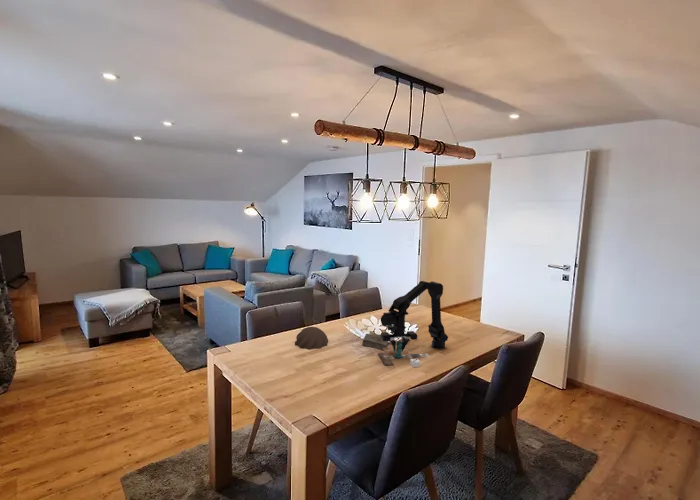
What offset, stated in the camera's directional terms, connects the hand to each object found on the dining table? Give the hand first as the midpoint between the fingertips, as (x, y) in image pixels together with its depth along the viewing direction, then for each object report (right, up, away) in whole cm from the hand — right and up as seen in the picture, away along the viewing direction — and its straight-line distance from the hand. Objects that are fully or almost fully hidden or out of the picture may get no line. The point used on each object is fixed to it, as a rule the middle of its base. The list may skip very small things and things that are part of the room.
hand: (398, 351), depth 200 cm
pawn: (0, -3, 0) cm, 3 cm away
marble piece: (-11, -2, +21) cm, 24 cm away
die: (+7, -6, -9) cm, 13 cm away
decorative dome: (-48, -1, +21) cm, 52 cm away
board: (+5, -4, +2) cm, 7 cm away
